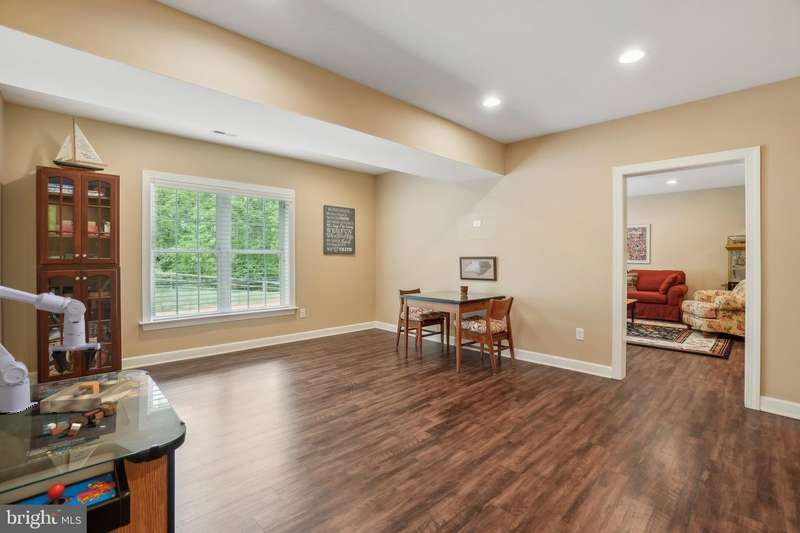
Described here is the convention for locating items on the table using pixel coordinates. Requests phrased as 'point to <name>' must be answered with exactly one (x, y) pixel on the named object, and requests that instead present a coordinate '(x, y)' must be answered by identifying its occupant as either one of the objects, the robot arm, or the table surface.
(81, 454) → the table surface
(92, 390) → the bracket
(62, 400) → the rectangular frame
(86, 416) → the character figurine
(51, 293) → the robot arm
